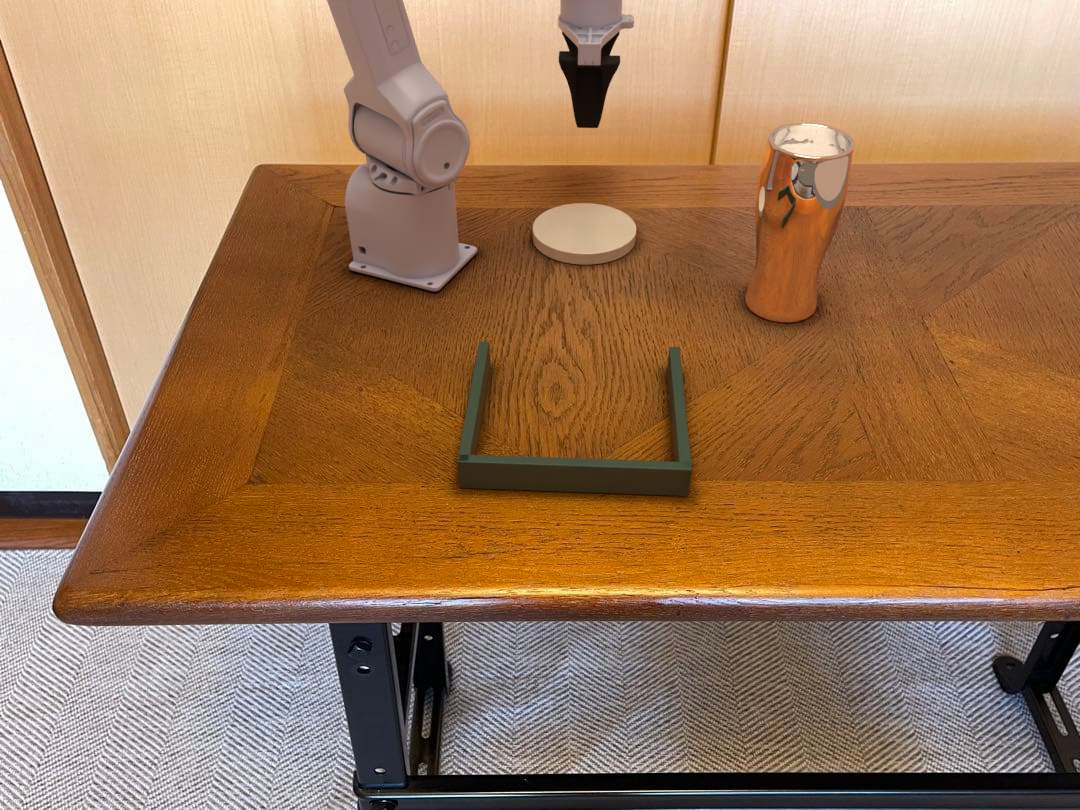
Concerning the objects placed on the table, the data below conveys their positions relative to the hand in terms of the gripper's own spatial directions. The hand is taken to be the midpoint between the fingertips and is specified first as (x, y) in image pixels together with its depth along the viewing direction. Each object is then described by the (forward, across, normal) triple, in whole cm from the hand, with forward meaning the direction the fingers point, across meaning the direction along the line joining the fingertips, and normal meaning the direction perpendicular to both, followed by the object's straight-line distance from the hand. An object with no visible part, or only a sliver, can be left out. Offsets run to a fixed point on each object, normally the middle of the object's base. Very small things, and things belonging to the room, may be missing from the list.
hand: (588, 113), depth 92 cm
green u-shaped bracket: (+8, -38, 0) cm, 38 cm away
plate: (+8, -10, 0) cm, 13 cm away
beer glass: (+9, -21, -17) cm, 28 cm away
